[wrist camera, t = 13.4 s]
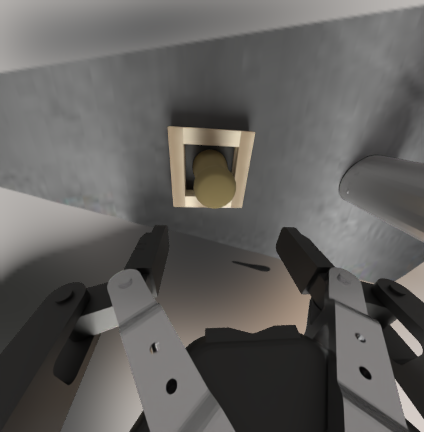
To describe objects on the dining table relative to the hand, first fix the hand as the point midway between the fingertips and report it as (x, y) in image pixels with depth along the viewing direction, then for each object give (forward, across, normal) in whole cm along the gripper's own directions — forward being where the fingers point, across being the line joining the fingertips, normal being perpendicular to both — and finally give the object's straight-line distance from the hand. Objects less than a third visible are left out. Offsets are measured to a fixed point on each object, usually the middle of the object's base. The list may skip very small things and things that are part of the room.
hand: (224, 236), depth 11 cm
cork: (+19, 0, 0) cm, 19 cm away
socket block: (+19, 0, 0) cm, 19 cm away
